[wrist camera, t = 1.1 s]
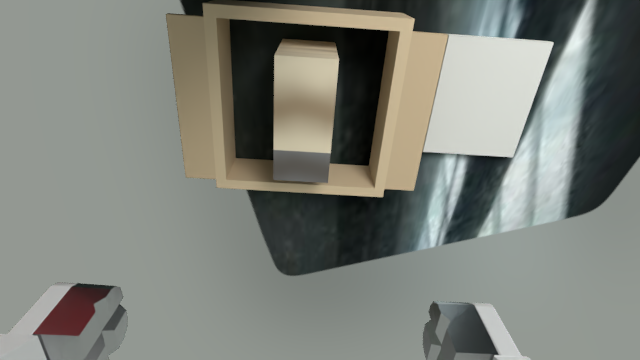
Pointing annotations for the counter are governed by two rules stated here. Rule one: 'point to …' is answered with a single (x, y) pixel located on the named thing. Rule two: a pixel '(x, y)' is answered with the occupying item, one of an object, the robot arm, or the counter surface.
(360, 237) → the counter surface
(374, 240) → the counter surface
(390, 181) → the carton
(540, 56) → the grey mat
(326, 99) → the block
